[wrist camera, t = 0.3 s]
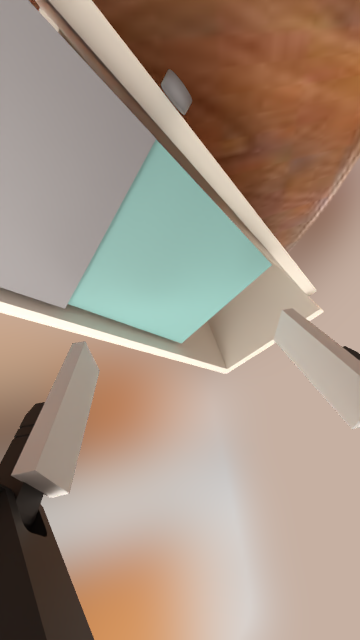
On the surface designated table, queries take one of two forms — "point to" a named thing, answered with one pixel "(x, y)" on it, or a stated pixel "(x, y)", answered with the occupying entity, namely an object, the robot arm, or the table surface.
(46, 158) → the trapdoor
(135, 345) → the frame
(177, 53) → the table surface
